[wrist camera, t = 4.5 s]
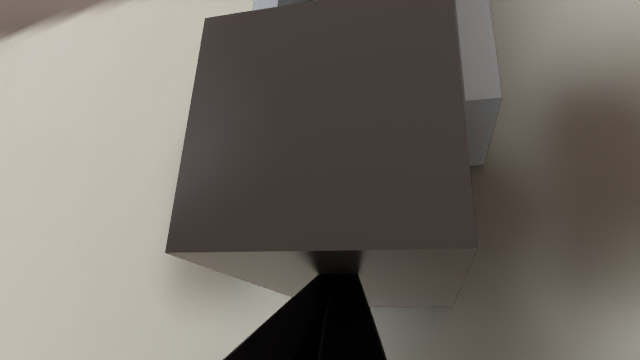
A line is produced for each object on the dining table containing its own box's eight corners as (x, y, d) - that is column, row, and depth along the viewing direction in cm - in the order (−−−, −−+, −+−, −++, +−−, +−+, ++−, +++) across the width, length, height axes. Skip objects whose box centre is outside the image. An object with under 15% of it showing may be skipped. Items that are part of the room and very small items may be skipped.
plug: (451, 308, 15) (477, 248, 6) (315, 305, 16) (165, 252, 7) (440, 149, 17) (446, -69, 8) (321, 157, 18) (212, -25, 9)
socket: (483, 165, 17) (518, 34, 10) (286, 176, 19) (197, 75, 12) (463, -16, 20) (479, -210, 13) (298, 10, 22) (235, -146, 15)
